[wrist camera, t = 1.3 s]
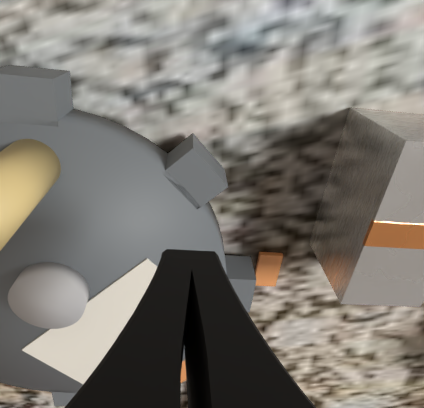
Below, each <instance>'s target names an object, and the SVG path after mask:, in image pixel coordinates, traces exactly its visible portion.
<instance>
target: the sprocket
mask: <svg viewBox="0 0 424 408" xmlns="http://www.w3.org/2000/svg"><path fill="white" fill-rule="evenodd" d="M227 187H228V184H227V180H226V175H225V170H224V168H223V167H222V166H221V165H220V164H219V162H218V161H217V160H216V159H215V158H214V157H213V156H212V154H211V153H210V152H209V151H208V150H207V149H206V148H205V146H204V145H203V144H202V143H201V142H200V141H199V140H198V138H197V137H196V136H195V135H194V134H193V133H192V134H191V135H190V136H189V137H188V138H186V139H185V140H184V141H183V142H182V143H180V144H179V145H178V146H177V147H175V148H174V149H173V150H172V151H171V152H169V153H166V152H165V151H164V150H162V149H161V148H159V147H158V146H157V145H155V144H154V143H153V142H151V141H150V140H148V139H147V138H145V137H143V136H141V135H139V134H138V133H136V132H134V131H132V130H130V129H129V128H127V127H125V126H123V125H120V124H118V123H115V122H113V121H110V120H108V119H106V118H103V117H101V116H98V115H94V114H90V113H87V112H83V111H80V110H76V109H73V101H72V90H71V80H70V71H64V70H54V69H44V68H34V67H24V66H14V65H8V66H5V67H1V68H0V382H1V383H5V384H8V385H12V386H17V387H22V388H27V389H32V390H40V391H49V392H52V396H53V401H54V405H55V406H66V405H67V404H68V403H69V402H70V400H71V399H72V398H73V397H74V396H75V394H76V393H77V392H78V391H79V389H80V388H81V387H82V386H83V384H84V383H85V382H86V380H87V379H88V378H89V376H90V375H91V374H92V373H93V371H94V370H95V369H96V367H97V366H98V365H99V363H100V362H101V360H102V359H103V358H104V356H105V355H106V354H107V352H108V351H109V349H110V348H111V346H112V345H113V344H114V342H115V341H116V339H117V337H118V336H119V334H120V333H121V331H122V330H123V328H124V327H125V325H126V324H127V322H128V321H129V319H130V317H131V316H132V314H133V313H134V311H135V309H136V308H137V306H138V304H139V302H140V300H141V299H142V297H143V295H144V293H145V292H146V290H147V288H148V286H149V284H150V282H151V280H152V278H153V276H154V274H155V272H156V269H157V267H158V264H159V262H160V259H161V255H162V252H164V251H165V250H166V249H177V250H197V251H215V252H216V254H217V255H218V256H219V259H220V261H221V264H222V266H223V268H224V270H225V272H226V274H227V277H228V279H229V281H230V282H231V284H232V286H233V288H234V290H235V292H236V294H237V296H238V297H239V299H240V301H241V303H242V304H243V306H244V308H245V309H246V311H247V312H250V307H251V303H252V298H253V294H254V289H255V285H256V276H255V272H254V268H253V264H252V260H251V256H231V255H225V254H224V247H223V240H222V236H221V232H220V228H219V224H218V221H217V219H216V216H215V214H214V212H213V209H212V207H211V205H210V203H209V201H210V200H211V199H212V198H214V197H215V196H217V195H218V194H219V193H221V192H222V191H223V190H225V189H226V188H227ZM185 380H186V365H185V349H184V352H183V360H182V369H181V383H182V382H183V381H185Z"/></svg>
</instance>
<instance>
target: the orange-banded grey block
mask: <svg viewBox="0 0 424 408" xmlns="http://www.w3.org/2000/svg"><path fill="white" fill-rule="evenodd" d="M309 243H310V245H311V247H312V249H313V251H314V253H315V255H316V257H317V259H318V261H319V263H320V264H321V266H322V268H323V270H324V272H325V274H326V276H327V278H328V280H329V282H330V284H331V286H332V288H333V290H334V292H335V293H336V295H337V297H338V299H339V301H340V303H341V304H357V305H384V306H412V307H420V306H421V304H422V303H423V301H424V114H414V113H404V112H393V111H383V110H373V109H362V108H352V107H350V109H349V112H348V115H347V119H346V122H345V125H344V129H343V132H342V135H341V138H340V142H339V145H338V148H337V152H336V155H335V158H334V162H333V165H332V168H331V172H330V175H329V178H328V182H327V185H326V188H325V192H324V195H323V198H322V202H321V205H320V208H319V212H318V215H317V218H316V222H315V225H314V228H313V232H312V235H311V238H310V242H309Z"/></svg>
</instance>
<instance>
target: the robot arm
mask: <svg viewBox="0 0 424 408" xmlns="http://www.w3.org/2000/svg"><path fill="white" fill-rule="evenodd" d="M184 349H185V365H186V380H187V395H188V408H316V407H315V406H314V405H313V404H312V402H311V401H310V400H309V399H308V398H307V396H306V395H305V394H304V393H303V391H302V390H301V389H300V388H299V386H298V385H297V384H296V382H295V381H294V380H293V379H292V377H291V376H290V375H289V373H288V372H287V371H286V369H285V368H284V367H283V365H282V364H281V363H280V361H279V360H278V358H277V357H276V356H275V354H274V353H273V351H272V350H271V349H270V347H269V346H268V344H267V343H266V341H265V340H264V338H263V337H262V335H261V334H260V332H259V331H258V329H257V327H256V326H255V324H254V323H253V321H252V320H251V318H250V316H249V314H248V313H247V311H246V309H245V308H244V306H243V304H242V303H241V301H240V299H239V297H238V296H237V294H236V292H235V290H234V288H233V286H232V284H231V282H230V281H229V279H228V277H227V274H226V272H225V270H224V268H223V266H222V264H221V261H220V259H219V256H218V255H217V254H216V252H215V251H197V250H177V249H166V250H165V251H164V252H162V255H161V259H160V262H159V264H158V267H157V269H156V272H155V274H154V276H153V278H152V280H151V282H150V284H149V286H148V288H147V290H146V292H145V293H144V295H143V297H142V299H141V300H140V302H139V304H138V306H137V308H136V309H135V311H134V313H133V314H132V316H131V317H130V319H129V321H128V322H127V324H126V325H125V327H124V328H123V330H122V331H121V333H120V334H119V336H118V337H117V339H116V341H115V342H114V344H113V345H112V346H111V348H110V349H109V351H108V352H107V354H106V355H105V356H104V358H103V359H102V360H101V362H100V363H99V365H98V366H97V367H96V369H95V370H94V371H93V373H92V374H91V375H90V376H89V378H88V379H87V380H86V382H85V383H84V384H83V386H82V387H81V388H80V389H79V391H78V392H77V393H76V394H75V396H74V397H73V398H72V399H71V400H70V402H69V403H68V404H67V405H66V406H65V408H180V388H181V369H182V360H183V352H184Z"/></svg>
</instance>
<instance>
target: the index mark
mask: <svg viewBox="0 0 424 408" xmlns="http://www.w3.org/2000/svg"><path fill="white" fill-rule="evenodd" d="M282 259H283V254H282V253H274V252H259V255H258V260H257V264H256V269H255V276H256V286H276V282H277V278H278V274H279V270H280V266H281V263H282Z"/></svg>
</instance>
